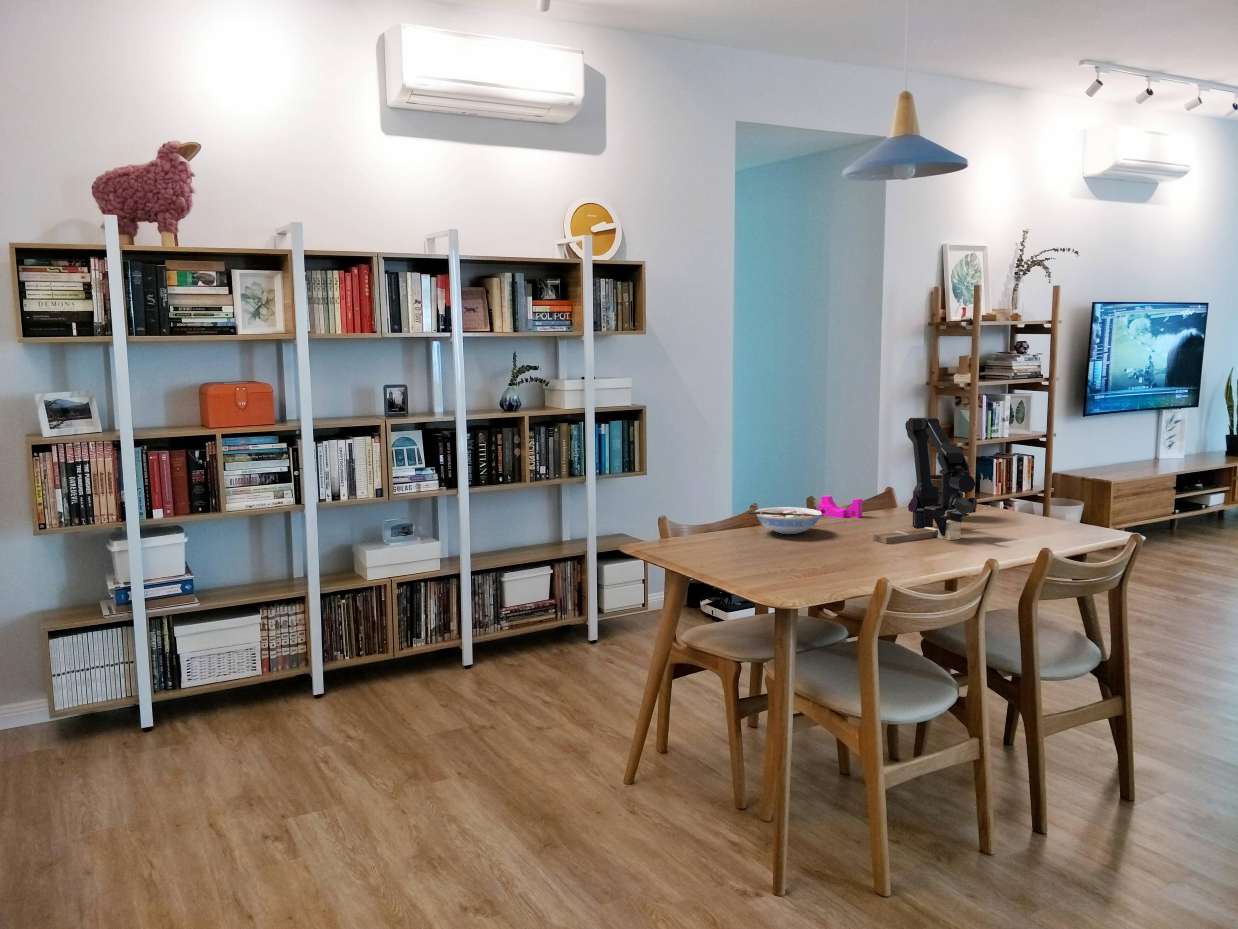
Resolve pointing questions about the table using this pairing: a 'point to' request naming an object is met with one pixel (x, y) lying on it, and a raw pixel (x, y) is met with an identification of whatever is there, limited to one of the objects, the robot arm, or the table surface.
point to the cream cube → (950, 531)
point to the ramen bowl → (788, 519)
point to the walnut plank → (905, 535)
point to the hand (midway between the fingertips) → (948, 535)
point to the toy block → (834, 511)
